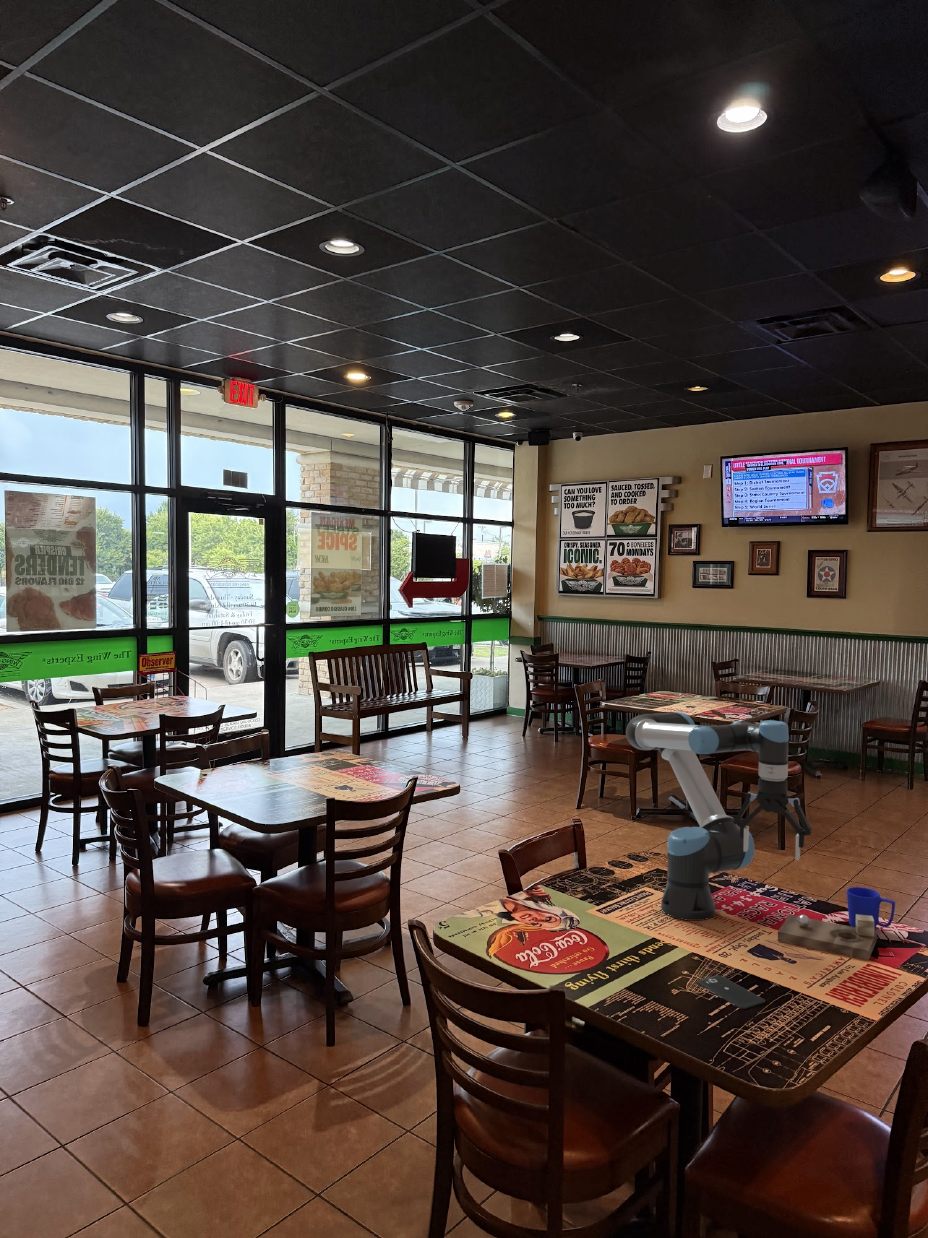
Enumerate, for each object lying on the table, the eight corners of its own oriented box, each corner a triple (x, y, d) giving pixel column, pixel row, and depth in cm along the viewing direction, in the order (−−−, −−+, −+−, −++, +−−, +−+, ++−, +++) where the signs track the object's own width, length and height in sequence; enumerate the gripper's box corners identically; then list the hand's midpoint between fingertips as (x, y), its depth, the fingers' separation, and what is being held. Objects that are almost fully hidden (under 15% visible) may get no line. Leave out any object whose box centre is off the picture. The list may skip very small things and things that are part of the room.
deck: (777, 941, 226) (777, 931, 226) (789, 923, 238) (789, 914, 238) (868, 960, 214) (868, 950, 214) (876, 941, 226) (876, 931, 226)
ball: (795, 927, 229) (795, 916, 229) (798, 923, 231) (798, 912, 231) (808, 930, 227) (808, 918, 227) (810, 926, 230) (810, 914, 229)
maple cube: (857, 935, 224) (857, 920, 223) (855, 929, 227) (855, 914, 227) (874, 936, 222) (874, 921, 222) (872, 931, 226) (872, 916, 226)
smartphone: (719, 977, 206) (719, 974, 206) (767, 1004, 193) (767, 1000, 193) (695, 984, 203) (695, 981, 203) (742, 1011, 189) (742, 1008, 189)
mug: (891, 940, 226) (891, 903, 226) (843, 929, 234) (843, 893, 233) (897, 930, 233) (898, 894, 232) (850, 920, 240) (850, 885, 240)
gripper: (723, 775, 236) (721, 850, 237) (819, 786, 223) (817, 866, 224) (729, 770, 242) (728, 843, 243) (824, 780, 230) (822, 858, 231)
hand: (771, 854), depth 234 cm, fingers open, 13 cm apart
